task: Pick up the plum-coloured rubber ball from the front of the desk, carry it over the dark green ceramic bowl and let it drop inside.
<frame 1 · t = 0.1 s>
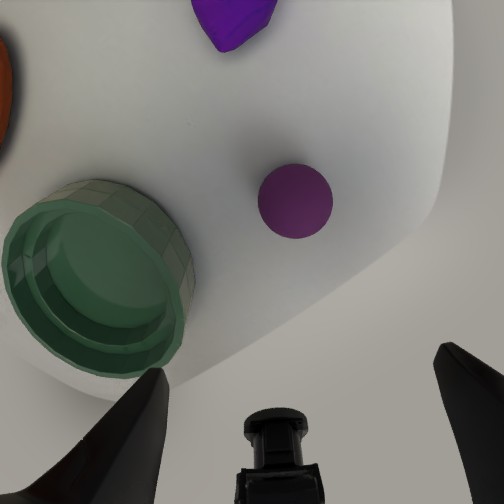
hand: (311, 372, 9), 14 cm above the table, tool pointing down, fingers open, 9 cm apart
bowl: (107, 267, 23), on the table
ball: (295, 201, 18), point 2 cm above the table
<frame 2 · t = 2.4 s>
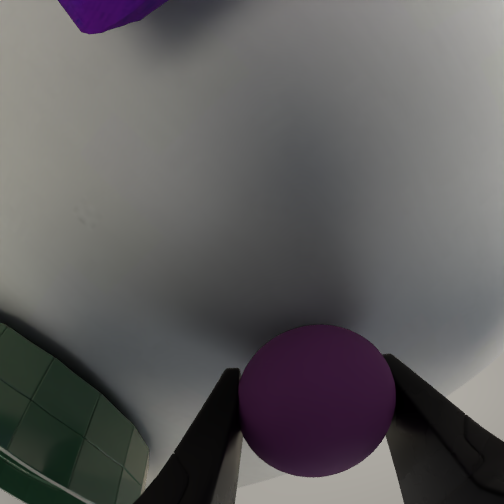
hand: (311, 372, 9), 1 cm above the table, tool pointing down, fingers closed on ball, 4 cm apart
bowl: (30, 405, 12), on the table
ball: (316, 401, 8), point 2 cm above the table, touching gripper
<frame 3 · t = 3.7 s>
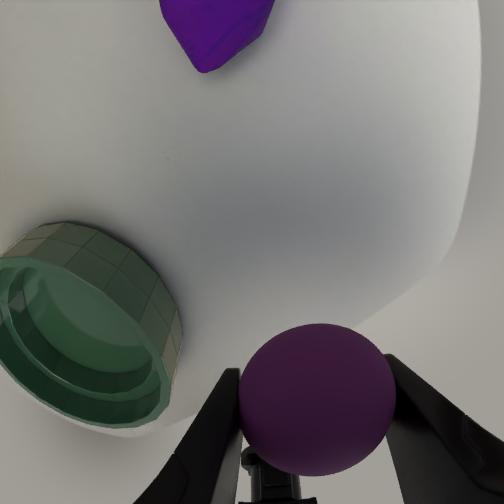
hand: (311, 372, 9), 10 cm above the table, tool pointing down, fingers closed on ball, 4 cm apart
bowl: (88, 313, 20), on the table
ball: (316, 401, 8), point 11 cm above the table, touching gripper
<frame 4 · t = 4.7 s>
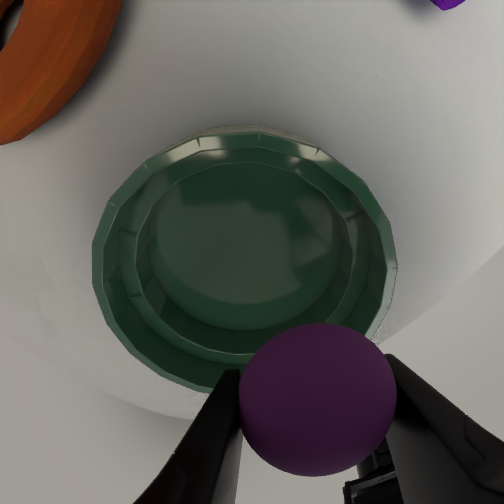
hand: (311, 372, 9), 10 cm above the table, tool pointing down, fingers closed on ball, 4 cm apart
bowl: (244, 250, 18), on the table
ball: (317, 401, 8), point 11 cm above the table, touching gripper
donut: (32, 28, 12), on the table
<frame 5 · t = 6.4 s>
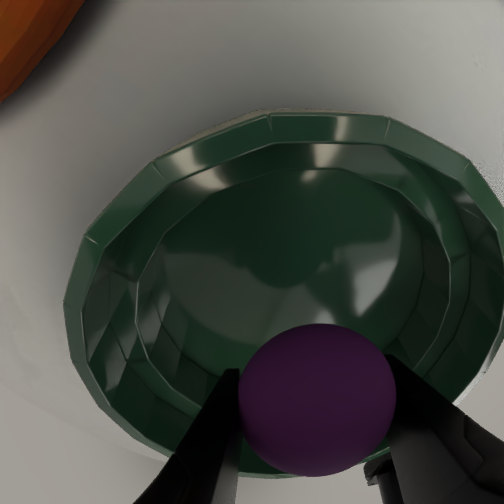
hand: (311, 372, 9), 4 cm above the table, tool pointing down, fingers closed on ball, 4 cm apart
bowl: (293, 292, 13), on the table
ball: (316, 401, 8), point 5 cm above the table, touching gripper
when the fingers open (2 cm above the table, at t = 7.4 s): ball stays where it is, resting on bowl.
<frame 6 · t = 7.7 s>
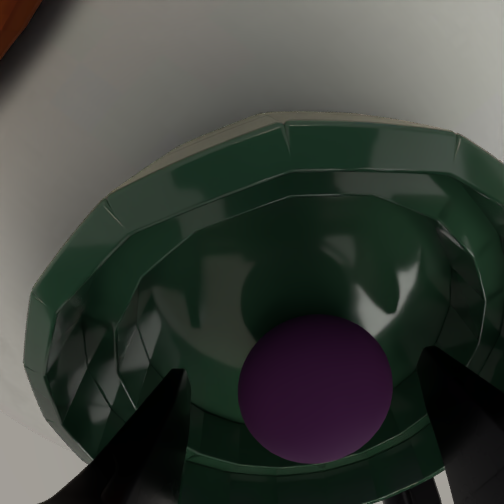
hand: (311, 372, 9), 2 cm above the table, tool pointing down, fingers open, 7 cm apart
bowl: (301, 329, 11), on the table
ball: (315, 389, 8), point 3 cm above the table, touching bowl
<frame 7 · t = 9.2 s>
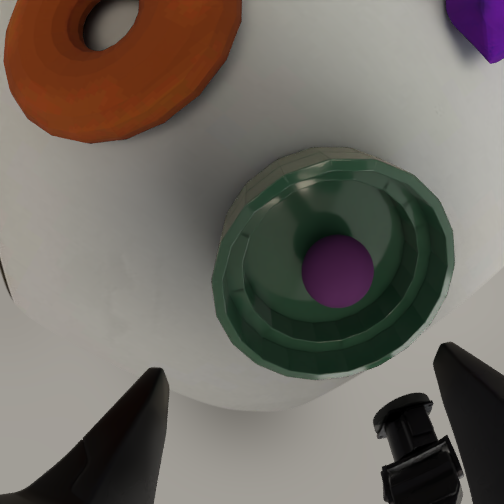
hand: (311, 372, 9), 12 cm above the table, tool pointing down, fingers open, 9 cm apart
bowl: (326, 251, 21), on the table
ball: (337, 271, 18), point 3 cm above the table, touching bowl
donut: (125, 28, 15), on the table
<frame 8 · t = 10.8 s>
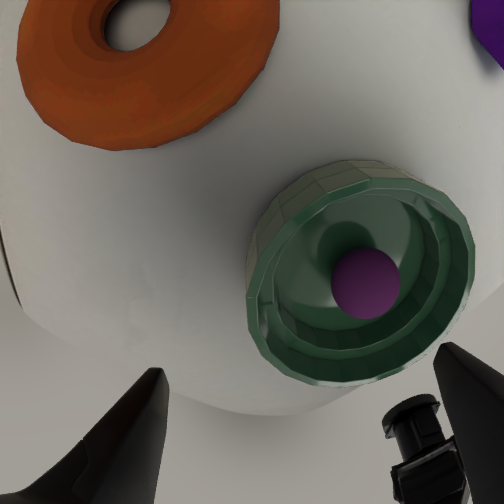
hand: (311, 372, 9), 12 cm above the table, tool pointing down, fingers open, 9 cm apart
crystal: (488, 0, 12), on the table
bowl: (350, 262, 21), on the table
ball: (365, 283, 18), point 3 cm above the table, touching bowl
donut: (148, 27, 14), on the table
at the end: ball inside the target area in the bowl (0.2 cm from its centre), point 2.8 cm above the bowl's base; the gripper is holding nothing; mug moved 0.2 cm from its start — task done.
